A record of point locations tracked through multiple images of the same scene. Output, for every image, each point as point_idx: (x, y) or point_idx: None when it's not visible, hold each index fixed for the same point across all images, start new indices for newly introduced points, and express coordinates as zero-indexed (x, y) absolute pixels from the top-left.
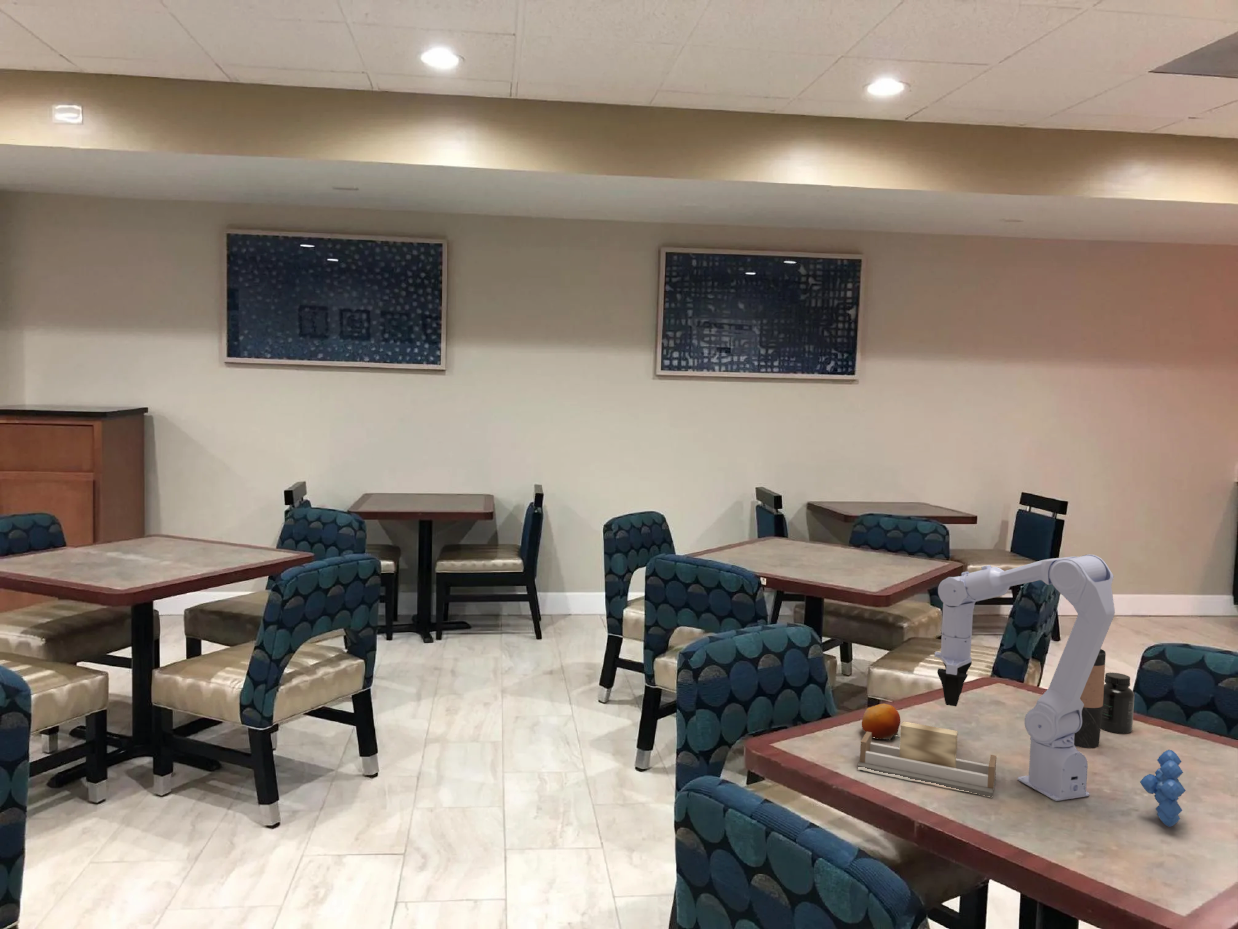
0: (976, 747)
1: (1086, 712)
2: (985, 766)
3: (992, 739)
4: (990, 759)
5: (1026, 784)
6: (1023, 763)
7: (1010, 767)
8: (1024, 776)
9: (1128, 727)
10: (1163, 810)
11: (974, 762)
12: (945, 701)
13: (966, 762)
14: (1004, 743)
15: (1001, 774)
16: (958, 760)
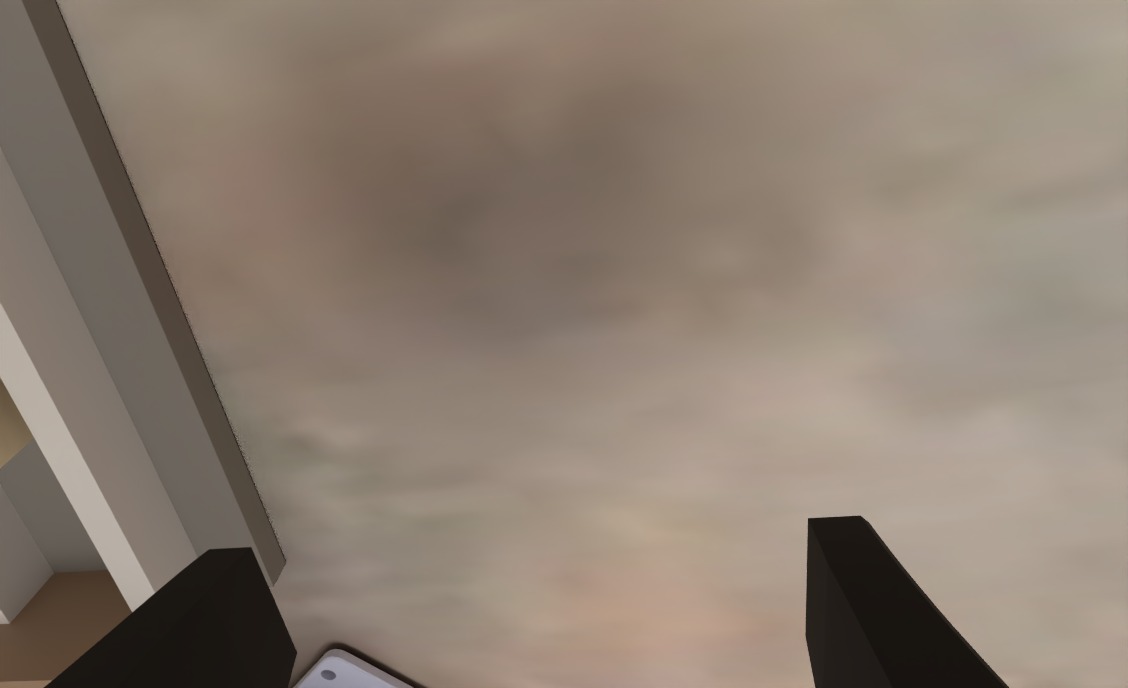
0: (734, 415)
1: None
2: (127, 597)
3: (976, 479)
4: (43, 683)
5: (299, 682)
6: (617, 648)
7: (503, 604)
8: (370, 680)
9: None
10: None
11: (119, 545)
12: (170, 585)
13: (75, 507)
14: (926, 546)
15: (360, 579)
16: (51, 464)
